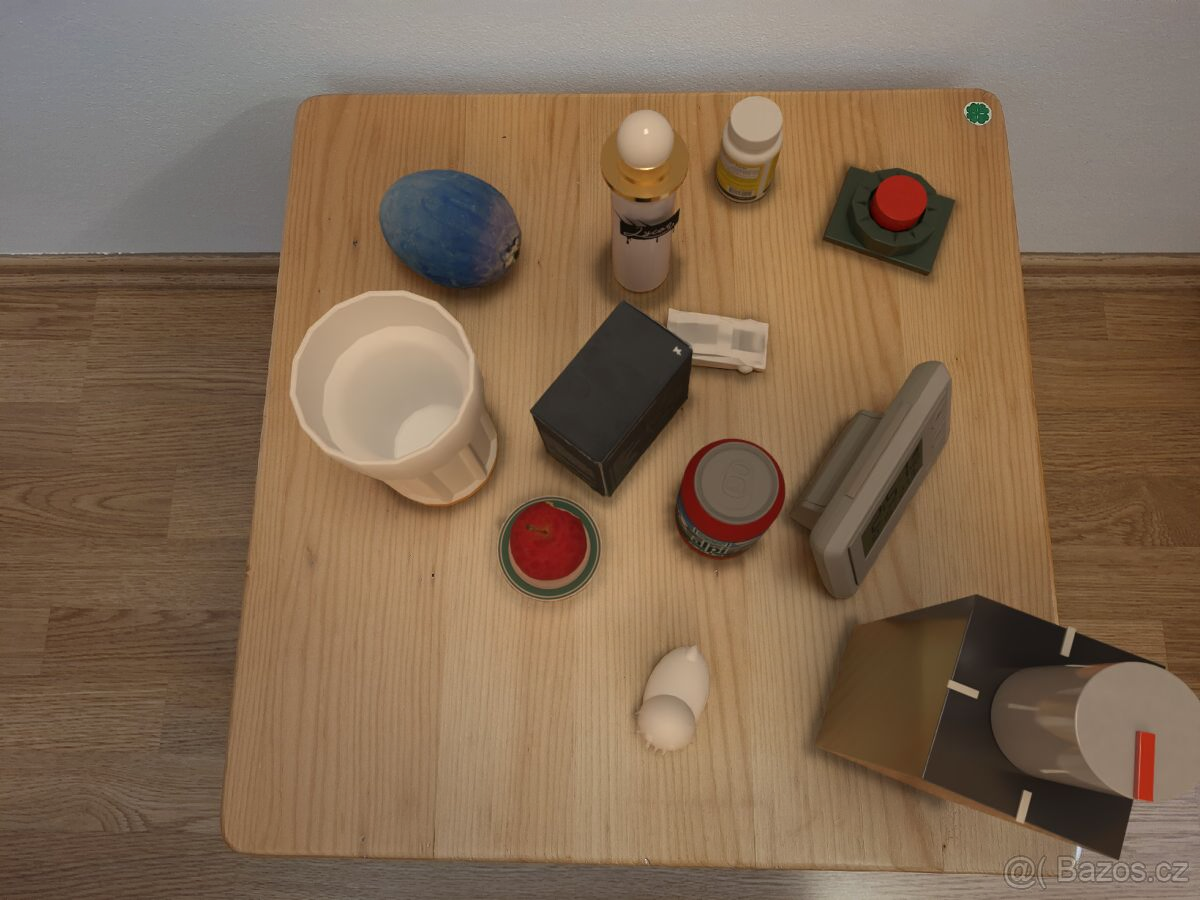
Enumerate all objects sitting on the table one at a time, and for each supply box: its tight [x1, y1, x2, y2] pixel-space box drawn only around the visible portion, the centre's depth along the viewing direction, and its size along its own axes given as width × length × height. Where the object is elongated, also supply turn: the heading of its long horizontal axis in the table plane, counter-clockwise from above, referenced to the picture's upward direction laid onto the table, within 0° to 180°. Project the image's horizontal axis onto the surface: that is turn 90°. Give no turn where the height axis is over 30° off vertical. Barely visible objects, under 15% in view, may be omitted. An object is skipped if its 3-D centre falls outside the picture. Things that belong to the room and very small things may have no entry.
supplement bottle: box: [715, 95, 784, 203], centre depth 71 cm, size 5×5×8 cm
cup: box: [288, 289, 499, 507], centre depth 62 cm, size 11×11×17 cm
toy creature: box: [632, 644, 711, 759], centre depth 62 cm, size 5×8×6 cm, turn 157°
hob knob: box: [991, 662, 1200, 803], centre depth 37 cm, size 5×5×8 cm
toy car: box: [666, 307, 770, 374], centre depth 70 cm, size 5×8×2 cm, turn 83°
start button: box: [870, 175, 927, 231], centre depth 71 cm, size 4×4×2 cm
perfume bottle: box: [599, 108, 690, 293], centre depth 64 cm, size 6×6×20 cm
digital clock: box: [789, 360, 953, 599], centre depth 63 cm, size 16×9×11 cm, turn 134°
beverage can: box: [674, 437, 786, 560], centre depth 62 cm, size 7×7×12 cm
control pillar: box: [813, 593, 1166, 861], centre depth 52 cm, size 9×9×24 cm
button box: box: [822, 165, 956, 276], centre depth 73 cm, size 9×7×2 cm
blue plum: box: [378, 168, 553, 290], centre depth 70 cm, size 9×9×15 cm
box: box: [529, 299, 693, 498], centre depth 65 cm, size 11×7×10 cm, turn 142°
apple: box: [496, 495, 603, 602], centre depth 65 cm, size 8×8×6 cm
